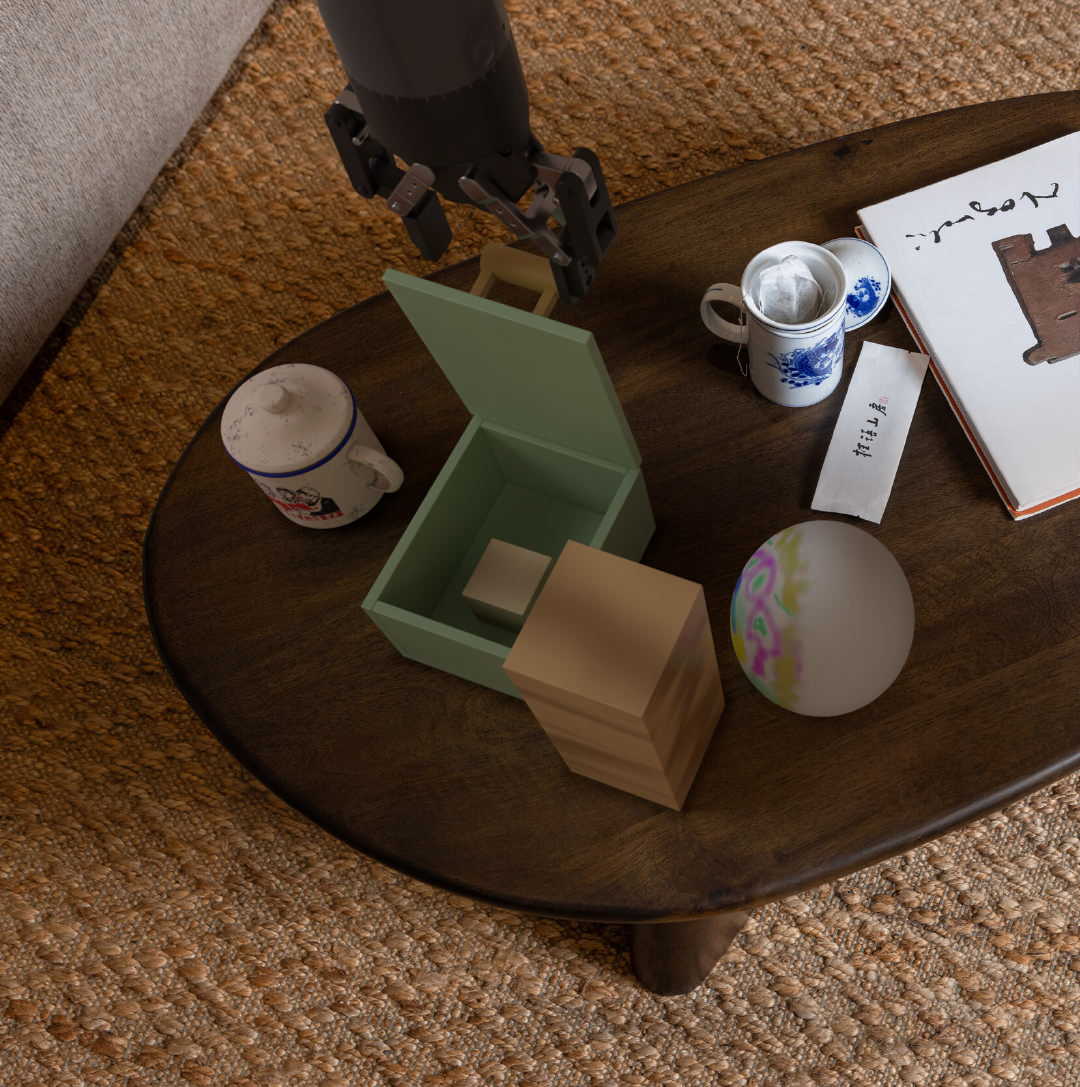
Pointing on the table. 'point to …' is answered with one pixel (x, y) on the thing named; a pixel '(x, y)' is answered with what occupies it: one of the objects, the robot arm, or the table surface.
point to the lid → (519, 356)
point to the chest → (505, 514)
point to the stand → (621, 673)
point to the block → (507, 584)
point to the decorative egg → (822, 618)
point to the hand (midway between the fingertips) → (506, 270)
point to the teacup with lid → (308, 445)
